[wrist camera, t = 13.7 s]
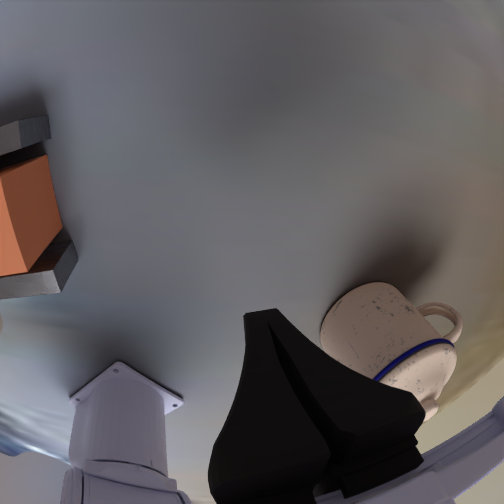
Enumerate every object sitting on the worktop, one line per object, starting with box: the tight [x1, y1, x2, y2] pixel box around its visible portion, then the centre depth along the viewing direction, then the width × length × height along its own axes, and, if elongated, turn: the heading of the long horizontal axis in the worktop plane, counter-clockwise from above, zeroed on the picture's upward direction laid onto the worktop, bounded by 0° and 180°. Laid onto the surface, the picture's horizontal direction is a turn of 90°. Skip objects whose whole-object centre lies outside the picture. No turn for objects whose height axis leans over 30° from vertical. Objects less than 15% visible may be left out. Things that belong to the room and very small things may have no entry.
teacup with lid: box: [320, 282, 463, 422], centre depth 22 cm, size 12×9×12 cm
